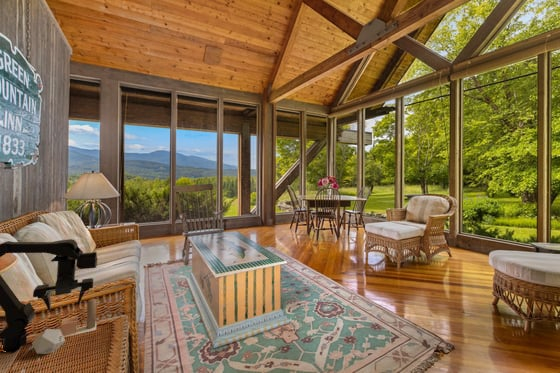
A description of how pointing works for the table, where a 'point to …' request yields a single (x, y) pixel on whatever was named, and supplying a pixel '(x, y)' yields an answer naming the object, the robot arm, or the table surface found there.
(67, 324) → the cube
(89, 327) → the peg stand
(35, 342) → the die
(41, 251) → the robot arm
